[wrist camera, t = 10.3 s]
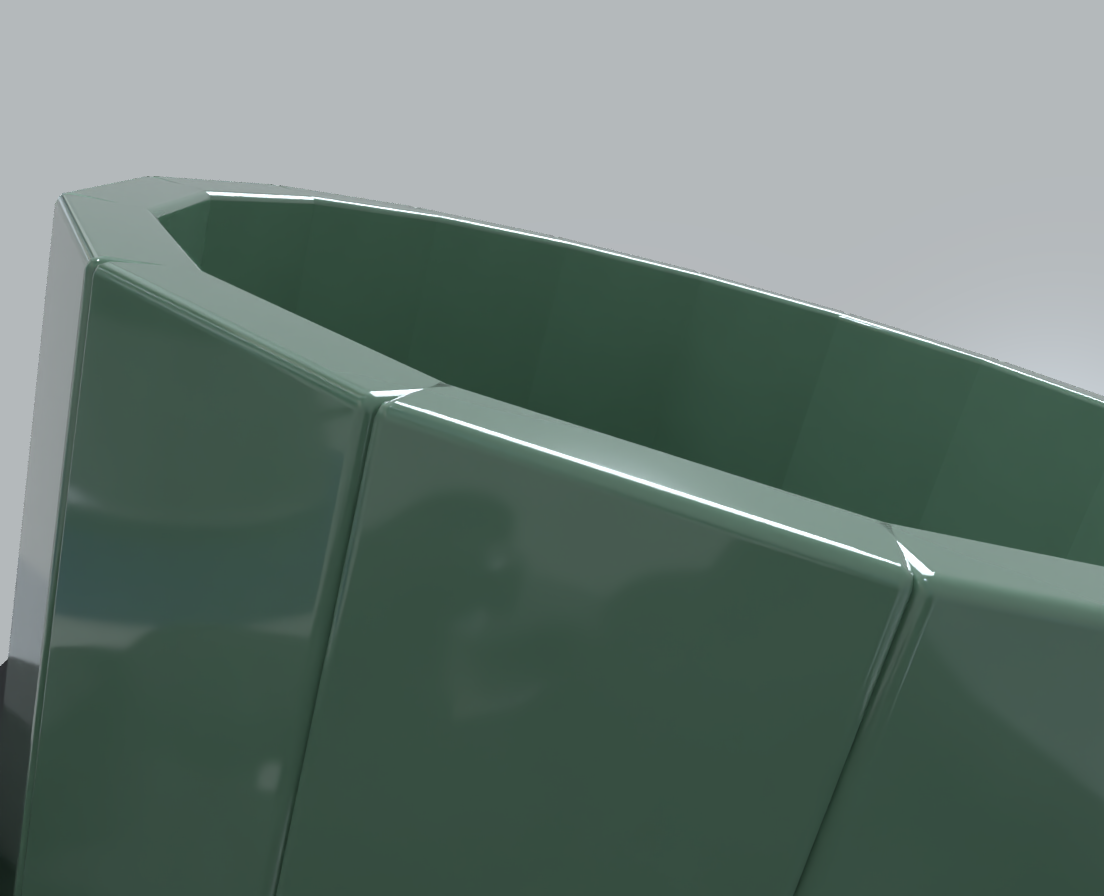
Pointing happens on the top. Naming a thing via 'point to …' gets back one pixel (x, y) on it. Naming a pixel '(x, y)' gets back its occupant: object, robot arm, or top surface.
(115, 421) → the tumbler
